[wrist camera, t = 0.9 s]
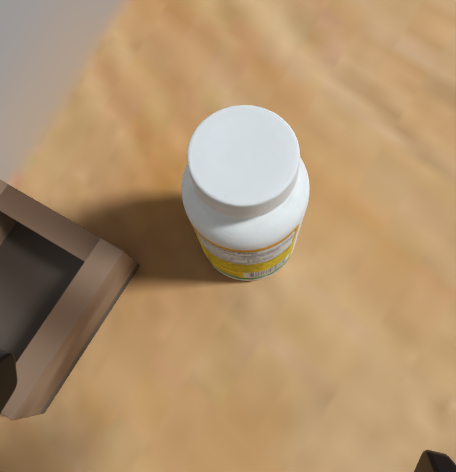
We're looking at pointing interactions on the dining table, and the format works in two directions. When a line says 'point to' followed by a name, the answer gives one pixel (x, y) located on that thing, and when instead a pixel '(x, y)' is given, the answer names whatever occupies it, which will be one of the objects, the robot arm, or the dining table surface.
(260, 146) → the supplement bottle
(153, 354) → the dining table surface
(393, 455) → the dining table surface
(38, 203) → the socket block
